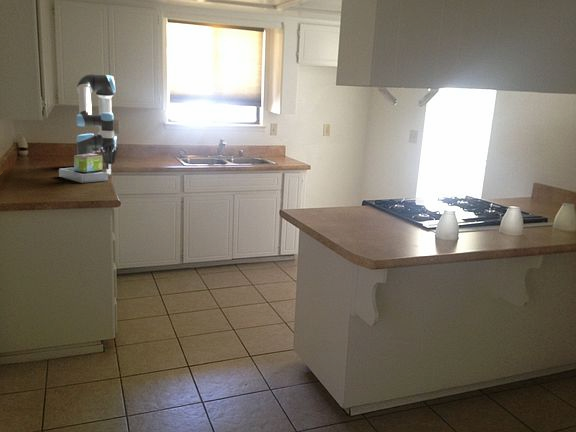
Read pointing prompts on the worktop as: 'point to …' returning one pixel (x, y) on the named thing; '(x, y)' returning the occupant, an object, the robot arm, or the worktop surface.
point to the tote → (82, 176)
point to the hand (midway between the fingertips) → (109, 174)
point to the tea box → (88, 163)
